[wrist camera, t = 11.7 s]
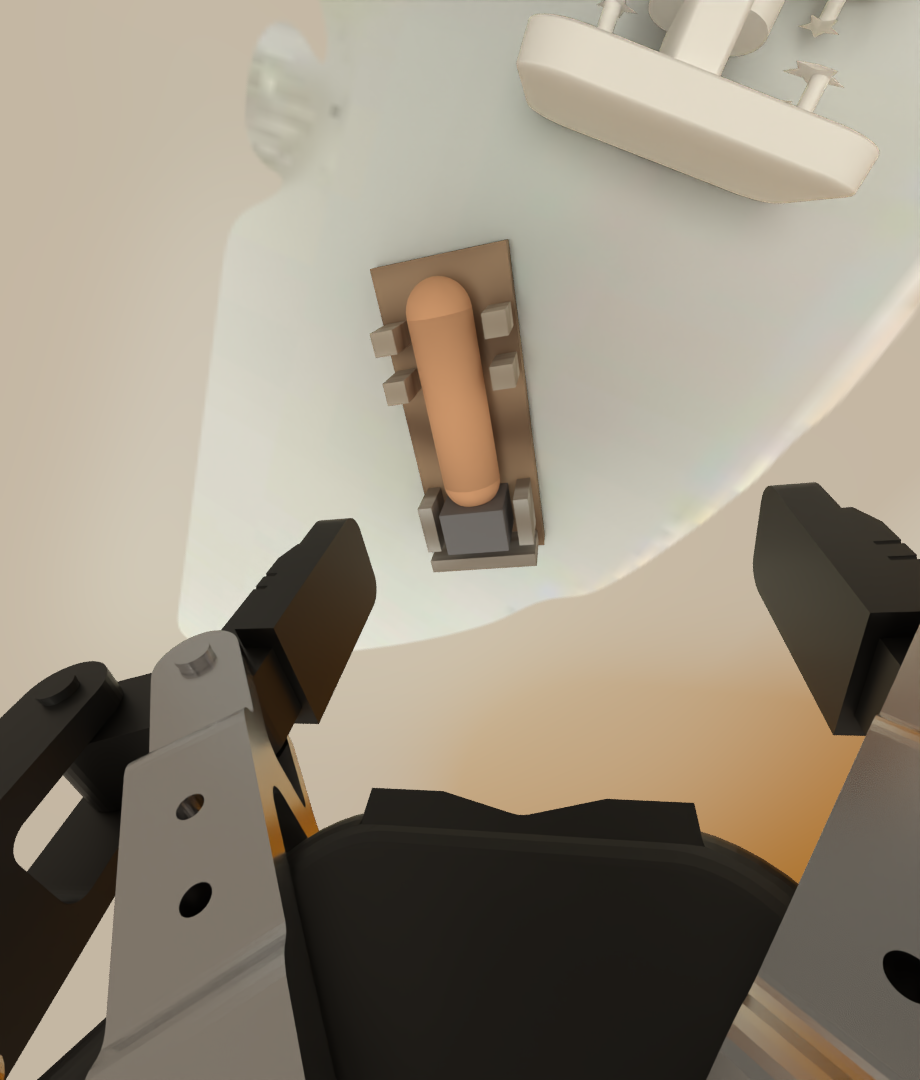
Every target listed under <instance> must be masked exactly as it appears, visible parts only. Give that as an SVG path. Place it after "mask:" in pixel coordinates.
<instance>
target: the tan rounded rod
mask: <svg viewBox="0 0 920 1080" xmlns="http://www.w3.org/2000/svg"><path fill="white" fill-rule="evenodd" d="M406 318H407V324H408V328H409V333H410V337H411V342H412V346H413V350H414V355H415V359H416V364H417V368H418V373H419V377H420V382H421V386H422V391H423V395H424V399H425V404H426V408H427V413H428V417H429V422H430V426H431V431H432V435H433V440H434V444H435V448H436V453H437V457H438V462H439V466H440V471H441V475H442V480H443V484H444V488H445V490H446V493H447V494H448V496H447V498H446V501H445V503H444V506H443V508H442V510H441V513H440V515H439V518H440V522H441V526H442V531H443V535H444V539H445V543H446V548H447V552H448V555H458V554H471V553H485V552H498V551H509V548H510V541H511V535H512V529H513V522H514V518H513V512H512V506H511V499H510V493H509V486H508V483H500V473H499V467H498V461H497V455H496V449H495V443H494V437H493V431H492V425H491V419H490V413H489V407H488V401H487V395H486V389H485V382H484V376H483V370H482V364H481V358H480V352H479V346H478V340H477V334H476V328H475V322H474V316H473V310H472V305H471V301H470V298H469V296H468V294H467V292H466V291H465V289H464V288H463V287H462V286H461V285H460V284H459V283H458V282H456V281H455V280H453V279H451V278H448V277H445V276H432V277H429V278H426V279H424V280H422V281H421V282H419V283H418V284H417V285H416V286H415V287H414V289H413V290H412V291H411V293H410V295H409V297H408V300H407V305H406Z"/></svg>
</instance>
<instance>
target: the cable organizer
mask: <svg viewBox="0 0 920 1080" xmlns="http://www.w3.org/2000/svg"><path fill="white" fill-rule="evenodd" d="M845 1H846V0H828V1H827V3H826V5H825V7H824V9H823V11H822V13H821V15H820V17H819V19H818V18H817V17H815V16H813V15H811V22H810V23H809V24H805V25H801V26H798V27H802V28H805V29H809V30H811V31H812V34H813V36H814V38H815V37H817V36H819V35H821V34H823V33H830V34H838V33H837V32H836V31H835V30H834V29H833V28H832V26H833V25H834V24H835V23H836V22H837V21H838V20H836V18H837V16H838V14H839V13H840V11H841V9H842V7H843V5H844V3H845ZM784 2H785V0H650V2H649V6H648V11H649V15H650V17H651V19H652V20H653V21H654V23H655V24H656V25H658V26H659V27H660V28H662V29H663V30H665V31H667V32H666V35H665V37H664V40H663V42H662V45H661V47H660V50H659V52H658V51H656V50H653V49H651V48H648V47H646V46H643V45H641V44H638V43H635V42H633V41H630V40H628V39H625V38H623V37H620V36H618V35H615V34H613V30H614V28H615V25H616V22H617V19H618V18H620V17H621V15H622V13H623V12H628V13H636V12H635V11H633V10H632V9H630V8H629V7H628V6H626V0H604V1H603V2H601V3H599V4H597V5H598V6H602V7H603V10H602V13H601V16H600V19H599V22H598V25H597V27H595V26H593V25H590V24H587V23H585V22H582V21H579V20H576V19H572V18H569V17H565V16H560V15H555V14H535V15H532V16H531V17H530V18H529V20H528V23H527V27H526V30H525V34H524V38H523V41H522V45H521V48H520V52H519V55H518V59H517V63H516V64H517V69H518V72H519V76H520V79H521V83H522V86H523V90H524V94H525V97H526V101H527V104H528V105H529V106H530V107H531V108H532V109H533V110H534V111H535V112H537V113H539V114H540V115H542V116H543V117H545V118H547V119H549V120H551V121H553V122H555V123H557V124H559V125H562V126H564V127H567V128H569V129H572V130H574V131H577V132H579V133H582V134H584V135H587V136H589V137H592V138H595V139H597V140H600V141H602V142H605V143H607V144H610V145H612V146H615V147H618V148H620V149H623V150H625V151H628V152H630V153H633V154H636V155H638V156H641V157H643V158H646V159H648V160H651V161H653V162H656V163H659V164H661V165H664V166H666V167H669V168H671V169H674V170H676V171H679V172H682V173H684V174H687V175H689V176H692V177H694V178H697V179H699V180H702V181H705V182H707V183H710V184H712V185H715V186H717V187H720V188H722V189H725V190H728V191H730V192H733V193H735V194H738V195H741V196H744V197H747V198H750V199H754V200H758V201H762V202H767V203H775V204H781V203H791V202H801V201H812V200H822V199H833V198H843V197H850V196H853V195H854V194H855V193H856V192H857V190H858V189H859V187H860V185H861V184H862V182H863V181H864V179H865V177H866V176H867V174H868V173H869V171H870V169H871V168H872V166H873V165H874V163H875V161H876V160H877V158H878V157H879V154H880V151H879V149H878V147H877V146H876V145H875V144H874V143H873V142H872V141H871V140H870V139H868V138H867V137H865V136H864V135H862V134H860V133H859V132H857V131H855V130H853V129H851V128H849V127H847V126H844V125H842V124H839V123H837V122H834V121H832V120H829V119H827V118H824V117H822V116H819V115H817V114H814V113H813V111H814V109H815V107H816V105H817V103H818V102H819V100H820V98H821V96H822V94H823V92H824V90H825V88H826V87H827V85H828V84H829V85H834V86H838V87H843V86H842V85H841V84H840V83H839V82H838V81H837V80H836V79H834V78H833V77H832V76H833V75H835V74H836V73H837V72H838V71H835V70H833V69H830V68H827V67H825V66H822V65H819V64H814V63H808V62H803V61H797V65H798V68H796V69H789V70H783V71H784V72H787V73H790V74H793V75H796V76H799V77H802V78H803V79H804V80H805V81H806V82H807V83H808V84H807V86H806V88H805V90H804V92H803V94H802V96H801V98H800V100H799V102H798V104H797V106H794V105H792V104H790V103H791V102H793V101H784V100H779V99H777V98H774V97H771V96H769V95H766V94H764V93H761V92H759V91H756V90H754V89H751V88H749V87H746V86H744V85H741V84H739V83H736V82H734V81H731V80H729V79H726V78H724V77H721V74H722V72H723V70H724V67H725V65H726V63H727V61H728V58H729V57H734V56H742V55H746V54H749V53H752V52H754V51H756V50H757V49H759V48H760V47H761V46H762V45H763V44H764V43H765V41H766V39H767V37H768V35H769V33H770V31H771V29H772V27H773V25H774V23H775V21H776V18H777V16H778V14H779V12H780V10H781V8H782V6H783V4H784ZM636 14H637V13H636ZM838 35H839V34H838ZM843 88H844V87H843Z"/></svg>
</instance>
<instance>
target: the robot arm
mask: <svg viewBox="0 0 920 1080" xmlns="http://www.w3.org/2000/svg"><path fill="white" fill-rule="evenodd" d="M916 556H917V555H916V554H915V553H914V552H913V551H912V550H911V549H910V548H909V547H908V546H907V545H906V544H904V543H902V544H901V539H899V537H898V536H897V535H895V533H894V532H892V531H891V530H890V529H889V528H888V527H887V526H886V525H885V524H884V523H883V522H882V521H880V520H878V519H876V518H874V517H872V516H870V515H868V514H866V513H863V512H861V511H859V510H857V509H855V508H853V507H848V508H841V507H840V506H839V505H838V504H837V503H836V502H835V501H834V500H833V498H832V497H831V496H830V495H829V494H828V493H827V492H826V491H825V490H824V489H823V488H822V487H821V486H820V485H819V484H818V483H800V484H787V485H775V486H768V487H767V488H766V489H765V490H764V492H763V495H762V500H761V507H760V515H759V521H758V528H757V536H756V543H755V550H754V558H753V572H754V579H755V583H756V586H757V589H758V592H759V594H760V596H761V598H762V599H763V601H764V603H765V605H766V607H767V609H768V611H769V613H770V615H771V616H772V618H773V620H774V622H775V624H776V626H777V628H778V630H779V632H780V634H781V636H782V638H783V640H784V642H785V643H786V645H787V647H788V649H789V651H790V653H791V655H792V657H793V659H794V661H795V663H796V664H797V666H798V668H799V670H800V672H801V674H802V676H803V678H804V680H805V682H806V684H807V685H808V687H809V689H810V691H811V693H812V695H813V697H814V699H815V701H816V703H817V705H818V707H819V708H820V710H821V712H822V714H823V716H824V718H825V720H826V722H827V724H828V726H829V728H830V730H831V731H832V733H833V735H854V736H855V735H856V736H866V737H865V739H864V741H863V743H862V746H861V748H860V751H859V753H858V754H857V757H856V759H855V761H854V763H853V765H852V768H851V770H850V772H849V774H848V776H847V779H846V781H845V783H844V785H843V788H842V790H841V792H840V794H839V796H838V799H837V801H836V803H835V805H834V807H833V809H832V812H831V814H830V816H829V818H828V821H827V823H826V825H825V827H824V829H823V832H822V834H821V836H820V839H819V840H818V843H817V845H816V847H815V849H814V851H813V854H812V856H811V858H810V860H809V863H808V865H807V867H806V869H805V871H804V874H803V876H802V878H801V880H800V882H799V884H798V883H797V882H795V881H794V880H793V879H792V878H790V877H789V876H788V875H786V874H785V873H783V872H782V871H780V870H779V869H777V868H775V867H774V866H773V865H771V864H770V863H768V862H767V861H765V860H764V859H762V858H760V857H758V856H756V855H754V854H753V853H751V852H749V851H747V850H745V849H743V848H741V847H739V846H737V845H735V844H733V843H730V842H728V841H725V840H723V839H721V838H718V837H716V836H713V835H710V834H706V833H703V832H701V831H700V827H699V823H698V818H697V814H696V810H695V805H694V803H682V802H660V801H639V800H618V799H617V800H616V799H604V800H599V801H594V802H589V803H584V804H579V805H574V806H570V807H564V808H560V809H554V810H549V811H545V812H540V813H535V814H530V815H516V814H512V813H509V812H506V811H502V810H500V809H496V808H493V807H490V806H487V805H484V804H481V803H478V802H475V801H472V800H468V799H465V798H462V797H459V796H456V795H453V794H450V793H447V792H444V791H427V790H406V789H384V788H372V790H371V793H370V797H369V800H368V803H367V806H366V809H365V812H364V814H360V815H356V816H353V817H350V818H347V819H344V820H342V821H339V822H337V823H335V824H333V825H330V826H328V827H326V828H324V829H322V830H320V831H319V829H318V826H317V823H316V820H315V817H314V814H313V811H312V807H311V804H310V800H309V797H308V793H307V791H306V787H305V783H304V780H303V776H302V773H301V770H300V766H299V763H298V760H297V756H296V753H295V749H294V746H293V744H292V741H291V740H290V738H289V736H288V734H289V732H290V730H291V728H292V726H293V724H294V723H300V724H301V723H302V724H304V723H305V724H319V722H320V720H321V718H322V716H323V714H324V712H325V709H326V707H327V705H328V703H329V701H330V698H331V696H332V694H333V691H334V690H335V688H336V686H337V683H338V681H339V679H340V677H341V675H342V673H343V671H344V668H345V666H346V664H347V662H348V660H349V658H350V655H351V653H352V651H353V649H354V647H355V645H356V642H357V640H358V638H359V636H360V634H361V632H362V629H363V627H364V625H365V623H366V621H367V619H368V616H369V614H370V612H371V610H372V608H373V606H374V603H375V599H376V580H375V575H374V572H373V569H372V566H371V563H370V560H369V556H368V553H367V550H366V547H365V544H364V541H363V538H362V535H361V531H360V528H359V526H358V524H357V522H356V521H355V520H354V519H352V518H347V519H334V520H321V521H318V522H316V523H315V525H314V526H313V527H312V528H311V530H310V531H309V532H308V534H307V535H306V536H305V538H304V539H303V540H302V541H301V543H300V544H297V545H296V546H295V547H293V548H292V549H290V550H289V551H288V552H286V553H285V554H284V555H282V556H281V557H279V558H278V559H277V561H276V562H275V563H274V564H273V566H272V567H271V568H270V569H269V571H268V572H267V573H266V575H267V576H266V577H263V578H262V579H261V581H260V582H259V583H258V585H257V586H256V589H254V590H253V591H252V592H251V593H250V595H249V596H248V597H247V598H246V600H245V601H244V602H243V603H242V605H241V606H240V607H239V608H238V610H237V611H236V612H235V613H234V615H233V616H232V617H231V618H230V620H229V621H228V622H227V623H226V625H225V626H224V627H223V628H222V630H218V631H210V632H205V633H202V634H199V635H196V636H193V637H191V638H189V639H187V640H185V641H183V642H182V643H180V644H178V645H177V646H175V647H174V648H172V649H171V650H170V651H169V652H168V653H166V654H165V655H164V656H163V657H162V658H161V659H160V661H159V662H158V663H157V664H156V666H155V668H154V670H153V672H152V673H150V674H146V675H142V676H138V677H135V678H130V679H126V680H123V681H119V682H117V681H116V680H115V678H114V677H113V676H112V674H111V673H110V671H109V670H108V669H107V667H106V666H105V665H104V664H103V663H101V662H95V661H91V662H83V663H79V664H76V665H72V666H70V667H67V668H65V669H62V670H60V671H58V672H56V673H54V674H52V675H51V676H49V677H47V678H46V679H44V680H43V681H41V682H40V683H38V684H37V685H36V686H34V687H33V688H32V689H30V690H29V691H28V692H27V693H26V694H25V695H24V696H23V697H22V698H21V699H20V700H19V701H18V702H17V703H16V704H15V705H14V706H12V707H11V708H10V709H9V710H8V711H7V712H6V713H5V714H4V715H3V717H1V718H0V1080H6V1078H7V1077H8V1075H9V1073H10V1071H11V1070H12V1068H13V1066H14V1065H15V1063H16V1061H17V1060H18V1058H19V1056H20V1055H21V1053H22V1051H23V1050H24V1048H25V1046H26V1045H27V1043H28V1041H29V1040H30V1038H31V1036H32V1034H33V1033H34V1031H35V1029H36V1028H37V1026H38V1024H39V1023H40V1021H41V1019H42V1018H43V1016H44V1014H45V1013H46V1011H47V1009H48V1008H49V1006H50V1004H51V1003H52V1001H53V999H54V997H55V996H56V994H57V993H58V991H59V989H60V987H61V986H62V984H63V982H64V981H65V979H66V977H67V976H68V974H69V972H70V971H71V969H72V967H73V966H74V964H75V962H76V961H77V959H78V957H79V956H80V954H81V952H82V950H83V949H84V947H85V945H86V944H87V942H88V940H89V939H90V937H91V935H92V934H93V932H94V930H95V929H96V927H97V925H98V923H99V922H100V920H101V918H102V917H103V915H104V913H105V912H106V910H107V908H108V907H109V905H110V903H111V902H112V900H113V898H114V897H115V906H114V920H113V933H112V947H111V961H110V974H109V988H108V1002H107V1016H106V1018H105V1019H104V1020H103V1021H101V1022H100V1023H99V1024H98V1025H97V1026H96V1027H95V1028H94V1029H93V1030H92V1031H90V1032H89V1033H88V1034H87V1035H86V1036H85V1037H84V1038H83V1039H82V1040H80V1041H79V1042H78V1043H77V1044H76V1045H75V1046H74V1047H73V1048H72V1049H71V1050H69V1051H68V1052H67V1053H66V1054H65V1055H64V1056H63V1057H62V1058H61V1059H60V1060H59V1061H57V1062H56V1063H55V1064H54V1065H53V1066H52V1067H51V1068H50V1069H49V1070H47V1071H46V1072H45V1073H44V1074H43V1075H42V1076H41V1077H40V1078H39V1079H37V1080H920V559H917V557H916ZM62 775H63V776H64V777H65V778H66V779H67V780H68V781H69V782H70V783H71V784H72V785H73V786H74V788H75V789H76V790H77V791H78V792H79V793H80V794H81V795H82V796H83V798H82V799H81V801H80V802H79V803H78V805H77V806H76V807H75V809H74V810H73V811H72V813H71V814H70V815H69V817H68V818H67V819H66V821H65V822H64V823H63V825H62V826H61V827H60V829H59V830H58V831H57V833H56V834H55V835H54V837H53V838H52V839H51V841H50V842H49V843H48V845H47V846H46V847H45V849H44V850H43V851H42V853H41V854H40V855H39V857H38V858H37V859H36V860H35V862H34V863H33V864H32V866H31V867H30V869H29V870H28V871H27V872H26V871H25V870H24V869H23V868H21V866H19V865H18V863H17V862H16V861H15V858H14V854H13V847H14V842H15V838H16V836H17V833H18V831H19V830H20V828H21V826H22V825H23V823H24V822H25V821H26V820H27V818H28V817H29V816H30V815H31V813H32V812H33V811H34V810H35V809H36V807H37V806H38V805H39V804H40V802H41V801H42V800H43V799H44V798H45V796H46V795H47V794H48V793H49V791H50V790H51V789H52V788H53V786H54V785H55V784H56V783H57V782H58V780H59V779H60V778H61V777H62Z"/></svg>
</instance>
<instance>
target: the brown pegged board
mask: <svg viewBox="0 0 920 1080" xmlns="http://www.w3.org/2000/svg"><path fill="white" fill-rule="evenodd" d="M370 272H371V276H372V280H373V284H374V288H375V292H376V297H377V301H378V305H379V309H380V313H381V317H382V321H383V325H384V326H383V327H381V328H379V329H378V330H376V331H374V332H372V333H371V334H370V337H371V341H372V345H373V349H374V353H375V357H376V358H379V357H385V356H391V358H392V362H393V366H394V370H395V374H393V375H392V376H391V377H390V378H389V379H388V380H387V381H386V382H385V383H383V388H384V392H385V396H386V399H387V403H388V406H393V405H400V404H403V407H404V411H405V416H406V420H407V424H408V428H409V432H410V436H411V440H412V444H413V448H414V453H415V457H416V461H417V465H418V469H419V473H420V477H421V481H422V485H423V490H424V494H425V496H424V498H423V500H422V502H421V504H420V506H419V508H418V513H419V517H420V521H421V525H422V529H423V533H424V536H425V540H426V544H427V548H428V552H434V554H433V557H432V560H431V564H432V568H433V572H445V571H461V570H476V569H492V568H508V567H523V566H537V555H538V545H544V539H545V533H544V525H543V517H542V509H541V501H540V493H539V485H538V477H537V468H536V460H535V452H534V444H533V436H532V428H531V420H530V411H529V403H528V395H527V387H526V379H525V371H524V363H523V355H522V346H521V338H520V330H519V322H518V314H517V306H516V298H515V290H514V281H513V273H512V265H511V257H510V249H509V241H508V239H507V240H503V241H498V242H493V243H489V244H484V245H479V246H475V247H470V248H465V249H461V250H456V251H451V252H447V253H442V254H437V255H433V256H428V257H423V258H419V259H414V260H410V261H405V262H400V263H396V264H391V265H386V266H382V267H377V268H373V269H370ZM432 276H445V277H448V278H451V279H453V280H455V281H456V282H458V283H459V284H460V285H461V286H462V287H463V288H464V289H465V291H466V292H467V294H468V296H469V298H470V301H471V305H472V310H473V316H474V322H475V328H476V334H477V340H478V346H479V352H480V358H481V364H482V370H483V376H484V382H485V389H486V395H487V401H488V407H489V413H490V419H491V425H492V431H493V437H494V443H495V449H496V455H497V461H498V467H499V473H500V483H508V486H509V493H510V499H511V506H512V512H513V518H514V522H513V529H512V535H511V541H510V548H509V551H498V552H485V553H471V554H458V555H448V552H447V548H446V543H445V539H444V535H443V531H442V526H441V522H440V518H439V515H440V513H441V510H442V508H443V506H444V503H445V501H446V498H447V496H448V494H447V493H446V490H445V488H444V484H443V480H442V475H441V471H440V466H439V462H438V457H437V453H436V448H435V444H434V440H433V435H432V431H431V426H430V422H429V417H428V413H427V408H426V404H425V399H424V395H423V391H422V386H421V382H420V377H419V373H418V368H417V364H416V359H415V355H414V350H413V346H412V342H411V337H410V333H409V328H408V324H407V318H406V305H407V300H408V297H409V295H410V293H411V291H412V290H413V289H414V287H415V286H416V285H417V284H418V283H419V282H421V281H422V280H424V279H426V278H429V277H432Z"/></svg>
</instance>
